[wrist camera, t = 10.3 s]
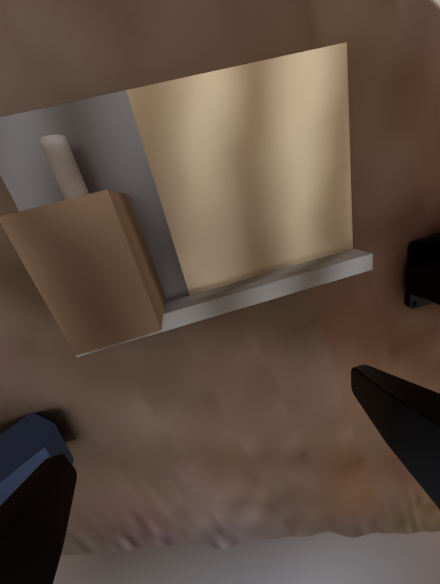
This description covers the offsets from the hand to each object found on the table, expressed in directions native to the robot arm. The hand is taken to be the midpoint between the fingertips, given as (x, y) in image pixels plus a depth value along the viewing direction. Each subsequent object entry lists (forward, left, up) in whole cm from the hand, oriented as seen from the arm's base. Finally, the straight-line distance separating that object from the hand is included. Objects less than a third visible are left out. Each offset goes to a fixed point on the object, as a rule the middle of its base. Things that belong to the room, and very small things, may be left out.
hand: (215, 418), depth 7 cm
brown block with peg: (+4, -5, -11) cm, 13 cm away
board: (-2, -5, -13) cm, 14 cm away
